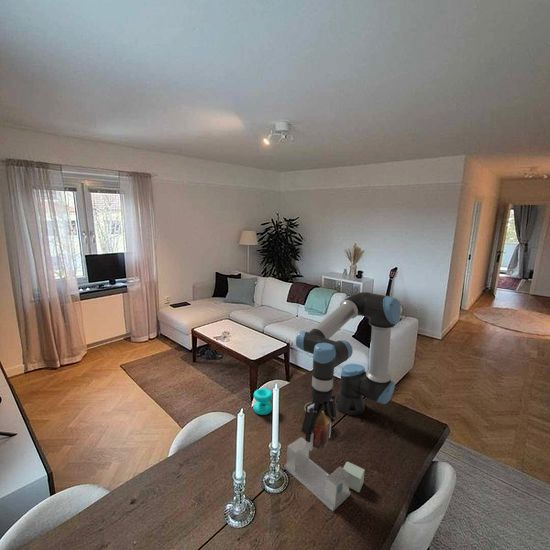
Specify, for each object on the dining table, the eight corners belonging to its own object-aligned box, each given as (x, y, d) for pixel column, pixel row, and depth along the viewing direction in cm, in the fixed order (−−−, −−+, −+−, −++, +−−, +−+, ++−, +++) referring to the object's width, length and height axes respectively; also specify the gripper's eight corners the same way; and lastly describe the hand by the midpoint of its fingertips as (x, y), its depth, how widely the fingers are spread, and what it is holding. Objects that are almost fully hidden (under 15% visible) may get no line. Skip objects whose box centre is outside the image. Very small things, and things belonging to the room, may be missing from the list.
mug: (307, 433, 120) (308, 409, 118) (329, 436, 118) (331, 412, 116) (303, 455, 108) (305, 430, 106) (328, 460, 107) (330, 434, 105)
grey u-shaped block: (301, 455, 128) (302, 435, 127) (350, 495, 110) (352, 473, 109) (284, 467, 122) (284, 446, 120) (333, 512, 104) (335, 488, 102)
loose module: (345, 474, 120) (346, 461, 118) (363, 483, 116) (364, 469, 115) (340, 483, 115) (342, 469, 114) (359, 492, 112) (360, 478, 111)
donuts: (269, 399, 150) (250, 395, 153) (268, 418, 152) (250, 413, 155) (275, 389, 159) (257, 385, 162) (275, 406, 161) (257, 402, 164)
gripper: (332, 373, 119) (328, 424, 123) (292, 392, 105) (289, 450, 109) (348, 381, 114) (344, 434, 118) (309, 402, 99) (305, 462, 103)
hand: (318, 441), depth 113 cm, fingers closed on mug, 9 cm apart
